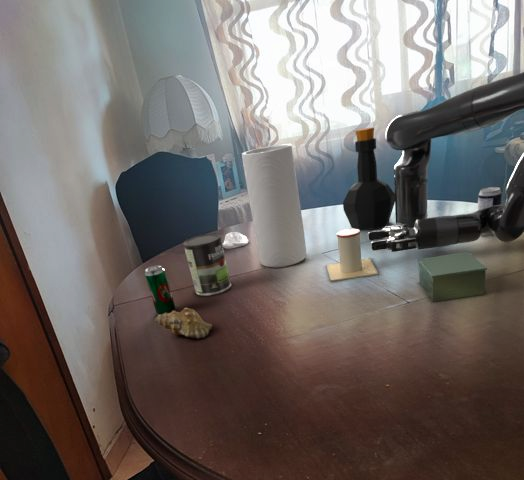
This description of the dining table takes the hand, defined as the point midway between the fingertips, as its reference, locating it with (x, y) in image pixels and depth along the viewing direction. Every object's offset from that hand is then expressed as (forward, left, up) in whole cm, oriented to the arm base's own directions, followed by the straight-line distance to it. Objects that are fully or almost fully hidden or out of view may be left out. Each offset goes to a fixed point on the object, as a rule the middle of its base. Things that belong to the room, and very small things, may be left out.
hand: (369, 241), depth 119 cm
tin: (+21, +14, -7) cm, 26 cm away
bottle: (-40, +7, -7) cm, 42 cm away
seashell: (+25, -46, -7) cm, 53 cm away
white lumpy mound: (-43, -40, -7) cm, 60 cm away
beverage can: (-13, +35, -7) cm, 38 cm away
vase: (-17, -23, -7) cm, 30 cm away
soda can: (+10, -54, -7) cm, 56 cm away
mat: (0, -5, -7) cm, 9 cm away
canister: (0, -5, -7) cm, 9 cm away
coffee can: (-2, -43, -7) cm, 44 cm away
